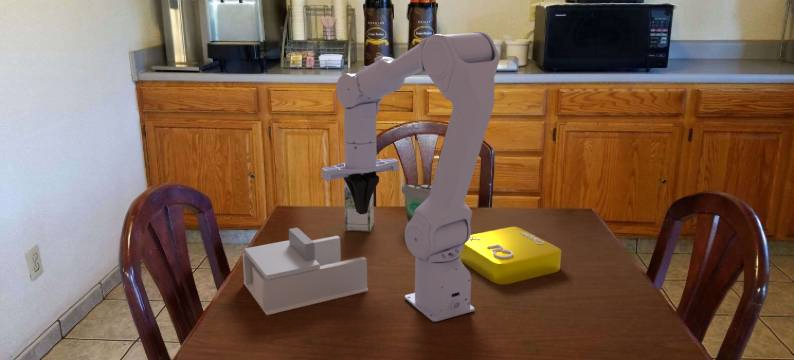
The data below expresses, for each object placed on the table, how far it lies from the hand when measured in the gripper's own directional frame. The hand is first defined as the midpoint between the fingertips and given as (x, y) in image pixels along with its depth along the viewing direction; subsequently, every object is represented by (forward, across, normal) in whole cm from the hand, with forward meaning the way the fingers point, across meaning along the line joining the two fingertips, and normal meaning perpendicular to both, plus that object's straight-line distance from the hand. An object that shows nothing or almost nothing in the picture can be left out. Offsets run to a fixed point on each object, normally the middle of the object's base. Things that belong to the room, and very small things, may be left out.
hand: (361, 212), depth 117 cm
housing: (+10, +13, +4) cm, 17 cm away
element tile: (+11, -25, +12) cm, 30 cm away
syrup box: (+11, -8, -18) cm, 22 cm away
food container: (+11, -20, -10) cm, 25 cm away
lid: (+4, +17, +4) cm, 18 cm away
